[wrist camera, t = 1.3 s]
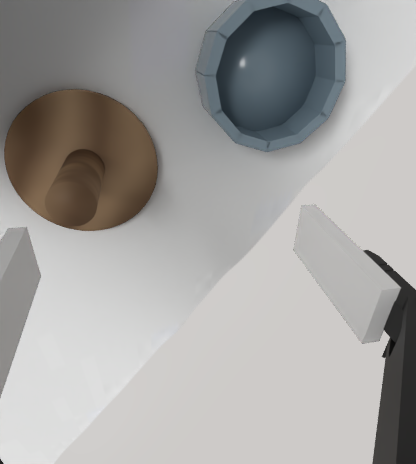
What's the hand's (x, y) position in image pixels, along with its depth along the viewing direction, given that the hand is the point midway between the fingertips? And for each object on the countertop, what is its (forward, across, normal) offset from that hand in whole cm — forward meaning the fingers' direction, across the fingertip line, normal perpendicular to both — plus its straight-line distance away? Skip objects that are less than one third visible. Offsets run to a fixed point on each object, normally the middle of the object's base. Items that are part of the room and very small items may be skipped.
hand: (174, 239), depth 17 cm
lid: (+23, -7, -4) cm, 24 cm away
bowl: (+22, +12, +5) cm, 26 cm away
